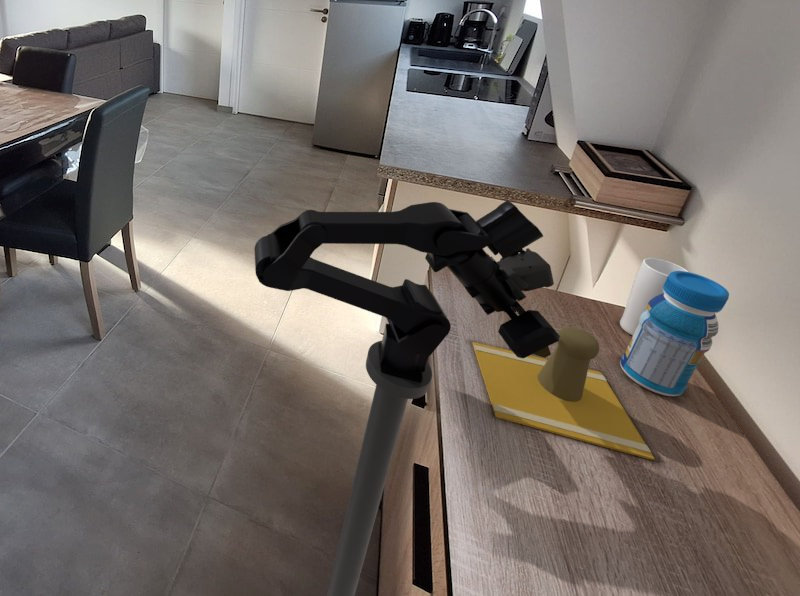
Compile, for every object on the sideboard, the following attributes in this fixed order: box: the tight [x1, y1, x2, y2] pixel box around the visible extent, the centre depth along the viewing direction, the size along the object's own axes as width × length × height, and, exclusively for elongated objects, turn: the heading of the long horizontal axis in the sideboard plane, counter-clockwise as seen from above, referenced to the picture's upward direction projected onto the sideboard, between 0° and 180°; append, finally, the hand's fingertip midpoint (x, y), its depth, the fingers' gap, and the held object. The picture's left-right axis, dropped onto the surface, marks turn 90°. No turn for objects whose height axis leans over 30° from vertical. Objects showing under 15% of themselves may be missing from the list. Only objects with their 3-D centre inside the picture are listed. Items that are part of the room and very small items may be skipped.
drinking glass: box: [619, 257, 690, 337], centre depth 86 cm, size 7×7×15 cm
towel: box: [471, 341, 655, 461], centre depth 74 cm, size 20×16×1 cm
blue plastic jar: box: [619, 271, 730, 397], centre depth 75 cm, size 8×8×20 cm
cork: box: [538, 326, 600, 402], centre depth 74 cm, size 6×6×11 cm
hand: (529, 333), depth 72 cm, fingers open, 9 cm apart
